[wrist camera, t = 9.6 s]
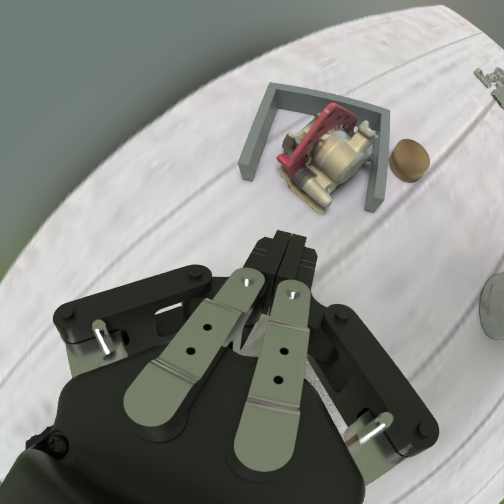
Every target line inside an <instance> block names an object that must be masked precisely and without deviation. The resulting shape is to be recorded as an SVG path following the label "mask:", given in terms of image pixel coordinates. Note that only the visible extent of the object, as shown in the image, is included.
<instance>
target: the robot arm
mask: <svg viewBox="0 0 504 504" xmlns="http://www.w3.org/2000/svg"><path fill="white" fill-rule="evenodd" d="M291 235H292V237H291ZM306 238H307V237H304V236H300V235H296V234H292V233H288V232H284V231H280V230H277V232H276V234H275V236H274V238H273V239H272V238H268V237H264V238H262V239H260V240H259V241H258V242H257V243H256V245H255V247H254V249H253V250H252V253H251V254H250V256H249V257H248V259H247V261H246V263H245V264H244V266H243V268H240V269H237V270H235V271H234V272H233V273H232V275H231V276H230V277H212V273H211V271H210V270H209V269H208V268H207V267H205V266H202V265H188V266H185V267H182V268H179V269H175V270H172V271H169V272H165V273H162V274H159V275H155V276H152V277H149V278H146V279H142V280H139V281H136V282H133V283H129V284H126V285H123V286H120V287H116V288H113V289H110V290H107V291H103V292H100V293H97V294H94V295H90V296H87V297H84V298H81V299H77V300H74V301H71V302H68V303H65V304H63V305H61V306H60V307H58V308H57V310H56V311H55V313H54V315H53V322H54V324H55V326H56V328H57V330H58V331H59V333H60V336H61V338H62V340H63V342H64V343H65V345H66V350H67V355H68V360H69V365H70V370H71V374H72V379H71V380H70V381H69V382H68V383H67V384H66V385H65V386H64V388H63V389H62V391H61V393H60V397H59V401H58V409H57V415H56V419H55V423H54V425H53V428H52V430H51V432H50V433H49V435H48V436H47V437H45V438H44V439H43V440H42V441H40V442H39V443H37V444H36V445H34V446H32V447H30V448H28V449H26V450H25V451H23V452H22V453H21V454H20V455H19V456H18V458H17V459H16V461H15V463H14V464H13V466H12V468H11V469H10V471H9V473H8V474H7V476H6V478H5V479H4V481H3V483H2V485H1V486H0V504H362V503H363V501H364V497H365V486H367V485H368V484H370V483H371V482H373V481H374V480H376V479H377V478H379V477H380V476H382V475H383V474H385V473H386V472H388V471H389V470H391V469H392V468H393V467H395V466H396V465H397V464H399V463H401V462H403V461H405V460H407V459H409V458H411V457H413V456H415V455H417V454H419V453H421V452H423V451H424V450H426V449H428V448H430V447H431V446H433V445H434V444H435V442H436V441H437V439H438V436H439V426H438V423H437V421H436V420H435V418H434V417H433V415H432V414H431V412H430V411H429V410H428V408H427V407H426V405H425V404H424V403H423V401H422V400H421V398H420V397H419V396H418V394H417V393H416V391H415V390H414V389H413V387H412V386H411V385H410V383H409V382H408V380H407V379H406V378H405V376H404V375H403V374H402V372H401V371H400V370H399V368H398V367H397V366H396V364H395V363H394V362H393V360H392V359H391V358H390V356H389V355H388V354H387V352H386V351H385V350H384V349H383V347H382V346H381V345H380V343H379V342H378V341H377V339H376V338H375V337H374V336H373V334H372V333H371V332H370V331H369V329H368V328H367V327H366V325H365V324H364V323H363V322H362V320H361V319H360V318H359V317H358V315H357V314H356V313H355V312H354V311H353V310H352V309H351V308H349V307H348V306H345V305H342V304H333V305H330V306H329V307H325V306H323V305H321V304H320V303H318V302H317V301H316V300H315V299H314V298H313V296H312V294H311V286H312V281H313V277H314V272H315V267H316V262H317V257H318V256H317V254H316V252H315V249H311V248H307V247H305V243H306ZM180 302H181V305H182V306H179V307H177V308H174V309H171V310H168V311H165V312H162V313H159V314H156V315H155V313H156V312H157V311H158V310H160V309H163V308H166V307H169V306H172V305H174V304H177V303H180ZM269 308H270V310H269ZM268 311H269V316H270V318H269V321H268V324H267V328H266V332H265V336H264V340H263V343H262V347H261V351H260V354H259V357H249V356H242V353H243V351H244V349H245V347H246V345H247V343H248V342H249V340H250V338H251V336H252V334H253V332H254V330H255V328H256V326H257V322H258V321H259V319H260V316H261V314H266V315H267V313H268ZM480 318H481V323H482V326H483V329H484V330H485V332H486V334H487V335H488V336H489V337H491V338H492V339H498V340H504V272H502V273H499V274H496V275H493V276H492V277H491V278H490V279H489V280H488V281H487V283H486V284H485V286H484V289H483V292H482V295H481V300H480ZM306 358H308V361H309V363H310V364H311V366H312V368H313V369H314V371H315V373H316V375H317V376H318V378H319V380H320V381H321V383H322V385H323V386H324V388H325V390H326V391H327V393H328V395H329V396H330V398H331V400H332V401H333V403H334V405H335V406H336V408H337V410H338V411H339V413H340V415H341V416H342V418H343V420H344V421H345V423H346V424H347V426H348V428H347V430H346V432H345V435H344V441H345V442H344V441H343V439H342V437H341V435H340V433H339V431H338V429H337V428H336V426H335V424H334V422H333V420H332V418H331V416H330V414H329V413H328V411H327V409H326V407H325V405H324V403H323V401H322V399H321V398H320V396H319V394H318V392H317V391H316V390H315V388H314V387H313V386H312V385H311V384H310V383H309V382H308V381H307V380H306V379H305V378H304V373H305V365H306Z"/></svg>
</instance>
